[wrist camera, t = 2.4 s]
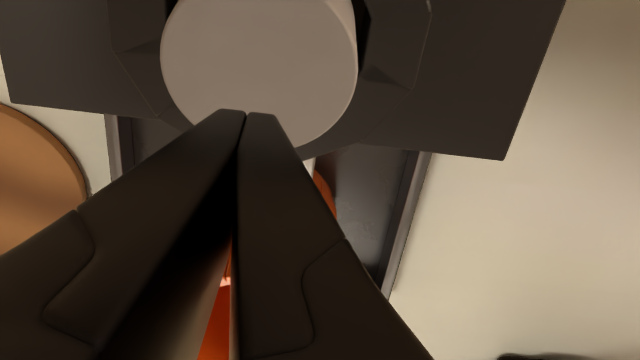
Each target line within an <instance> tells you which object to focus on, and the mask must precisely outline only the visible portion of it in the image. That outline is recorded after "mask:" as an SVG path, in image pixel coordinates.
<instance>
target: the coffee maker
mask: <svg viewBox="0 0 640 360" xmlns="http://www.w3.org/2000/svg"><path fill="white" fill-rule="evenodd" d="M177 2H178V0H0V55H1V60H2V64H3V69H4V73H5V78H6V82H7V87H8V91H9V96H10V101H11V102H12V103H15V104H23V105H32V106H40V107H49V108H57V109H66V110H74V111H83V112H91V113H100V114H108V115H117V116H125V117H134V118H142V119H151V120H159V121H163V122H164V123H166V124H168V125H169V126H171V127H173V128H174V129H176V130H178V131H179V132H181V133H184V132H186V131H187V130H189V129H190V128H192V127H193V126H194V125H193V124H192V123H191V122H190V121H189V120H188V119H187V118H186V117H185V116H184V115H183V114H182V112H181V111H180V110H179V108H178V107H177V106H176V104H175V103H174V101H173V99H172V97H171V96H170V94H169V92H168V89H167V87H166V84H165V82H164V78H163V74H162V70H161V63H160V44H161V39H162V33H163V30H164V27H165V25H166V22H167V20H168V18H169V16H170V14H171V12H172V10H173V9H174V7H175V5H176V4H177ZM351 2H352V5H353V10H354V16H355V28H356V43H357V57H358V75H357V83H356V87H355V91H354V94H353V96H352V99H351V101H350V103H349V105H348V107H347V108H346V110H345V112H344V113H343V115H342V116H341V117H340V118H339V120H338V121H337V122H336V123H335V124H334V125H333V126H332V127H331V128H330V129H329V130H328V131H326V132H325V133H323V134H322V135H321V136H319V137H318V138H316V139H314V140H312V141H310V142H308V143H306V144H304V145H301V146H299V147H295V150H296V152H297V153H298V155H299V157H300V158H301V160H302V162H303V161H306V160H309V159H312V158H315V157H318V156H321V155H324V154H327V153H330V152H333V151H336V150H339V149H342V148H345V147H348V146H351V145H354V144H363V145H372V146H380V147H389V148H397V149H406V150H414V151H423V152H431V153H440V154H448V155H457V156H465V157H474V158H482V159H491V160H499V161H503V160H504V159H505V156H506V154H507V151H508V149H509V146H510V144H511V141H512V138H513V136H514V133H515V131H516V128H517V126H518V123H519V120H520V118H521V115H522V113H523V110H524V108H525V105H526V102H527V100H528V97H529V95H530V92H531V90H532V87H533V84H534V82H535V79H536V77H537V74H538V72H539V69H540V66H541V64H542V61H543V59H544V56H545V54H546V51H547V48H548V46H549V43H550V41H551V38H552V36H553V33H554V30H555V28H556V25H557V23H558V20H559V18H560V15H561V12H562V10H563V7H564V5H565V2H566V0H351Z"/></svg>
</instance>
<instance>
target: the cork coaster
mask: <svg viewBox="0 0 640 360" xmlns="http://www.w3.org/2000/svg"><path fill="white" fill-rule="evenodd" d="M85 200H87V195H86V188H85V183H84V180H83V177H82V175H81V172H80V170H79V168H78V166H77V164H76V163H75V161H74V159H73V158H72V156H71V155H70V154H69V152H68V151H67V150H66V148H65V147H64V146H63V145H62V144H61V143H60V142H59V141H58V140H57V139H56V138H55V137H54V136H53V135H52V134H51V133H50V132H48V131H47V130H46V129H45V128H43V127H42V126H41V125H39V124H38V123H37V122H35V121H34V120H32V119H30V118H29V117H27V116H25V115H24V114H22V113H20V112H18V111H16V110H14V109H12V108H10V107H7V106H5V105H2V104H0V255H2V254H4V253H5V252H7V251H9V250H10V249H12V248H14V247H16V246H17V245H19V244H21V243H22V242H24V241H25V240H27V239H28V238H30V237H31V236H33V235H34V234H36V233H38V232H39V231H41V230H42V229H44V228H45V227H47V226H48V225H50V224H51V223H53V222H54V221H56V220H57V219H59V218H60V217H62V216H63V215H65V214H66V213H67V212H69V211H70V210H76V207H77V206H78V205H79V204H81V203H82V202H84V201H85Z"/></svg>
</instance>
